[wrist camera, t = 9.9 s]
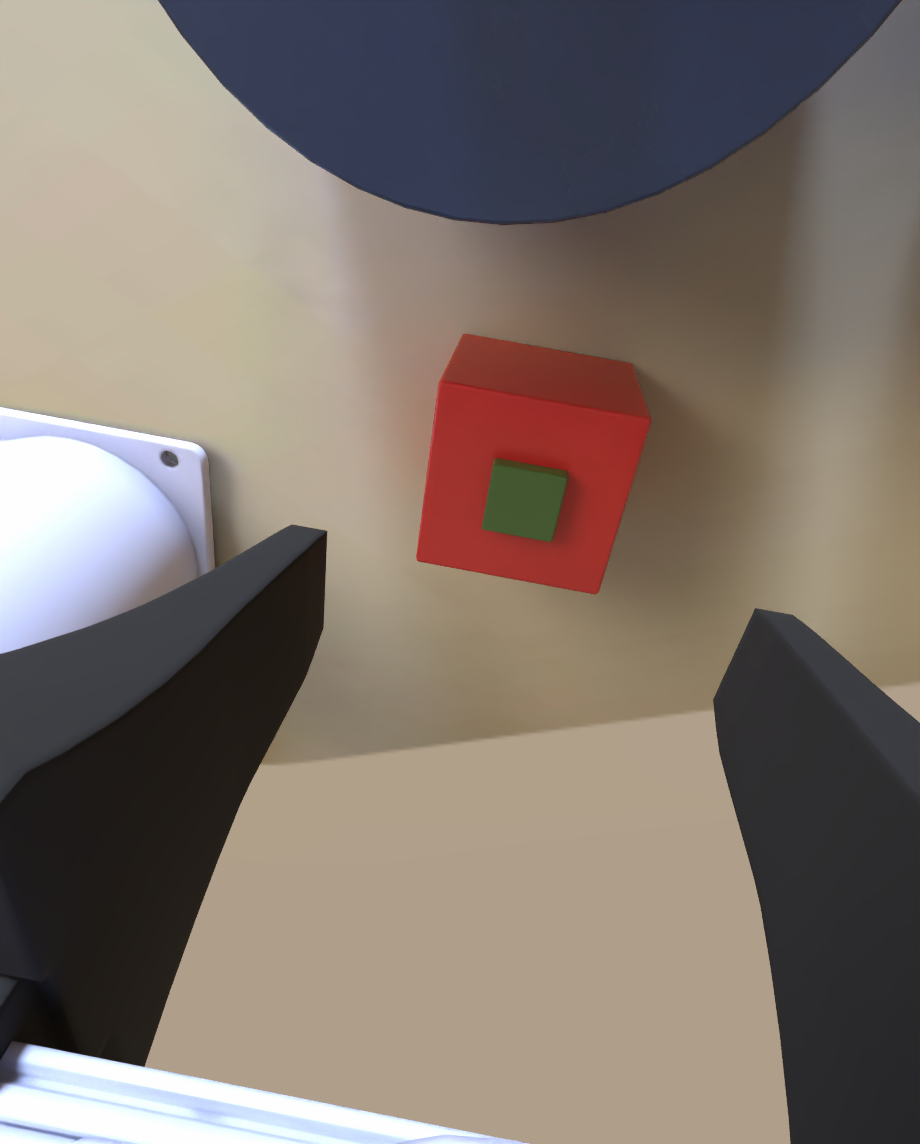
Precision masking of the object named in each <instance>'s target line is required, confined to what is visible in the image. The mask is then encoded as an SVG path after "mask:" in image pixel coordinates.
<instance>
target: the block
mask: <svg viewBox="0 0 920 1144" xmlns="http://www.w3.org/2000/svg"><path fill="white" fill-rule="evenodd" d="M650 425H651V417H650V414H649V412H648V409H647V406H646V403H645V400H644V397H643V394H642V391H641V388H640V385H639V382H638V379H637V376H636V373H635V370H634V367H633V364H631V363H627V362H621V361H616V360H610V359H605V358H599V357H593V356H588V355H582V354H577V353H571V352H565V351H560V350H554V349H549V348H543V347H537V346H532V345H526V344H521V343H515V342H509V341H504V340H498V339H492V338H487V337H481V336H476V335H470V334H463V335H462V337H461V339H460V341H459V343H458V345H457V347H456V349H455V351H454V353H453V355H452V357H451V359H450V361H449V363H448V365H447V367H446V369H445V371H444V373H443V375H442V377H441V379H440V381H439V383H438V391H437V399H436V407H435V414H434V422H433V430H432V438H431V446H430V454H429V461H428V469H427V477H426V485H425V493H424V501H423V509H422V516H421V524H420V532H419V540H418V548H417V556H416V558H417V561H419V562H424V563H430V564H435V565H440V566H446V567H451V568H456V569H462V570H467V571H472V572H478V573H483V574H489V575H494V576H499V577H505V578H510V579H515V580H521V581H526V582H531V583H537V584H542V585H547V586H553V587H558V588H564V589H569V590H574V591H580V592H585V593H590V594H597V593H598V592H599V590H600V587H601V583H602V580H603V577H604V574H605V570H606V567H607V564H608V561H609V557H610V554H611V551H612V548H613V544H614V541H615V538H616V535H617V532H618V528H619V525H620V522H621V519H622V515H623V512H624V509H625V506H626V502H627V499H628V496H629V493H630V489H631V486H632V483H633V480H634V476H635V473H636V470H637V467H638V464H639V460H640V457H641V454H642V451H643V447H644V444H645V441H646V438H647V434H648V431H649V428H650Z"/></svg>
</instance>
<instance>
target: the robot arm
mask: <svg viewBox="0 0 920 1144" xmlns="http://www.w3.org/2000/svg"><path fill="white" fill-rule="evenodd" d="M167 451H170V452H172V453H174V454H175V455H176V456H177V458H178V461H179V462H178V463H176V462H173V461H172V460H171V459H170V458H169V457H168V454H167ZM326 548H327V531H325V530H319V529H314V528H308V527H303V526H297V525H290V526H288V527H286V528H284V529H282V530H280V531H279V532H277V533H275V534H273V535H272V536H270V537H268V538H267V539H265V540H263V541H262V542H260V543H258V544H257V545H255V546H253V547H252V548H250V549H248V550H246V551H245V552H243V553H241V554H240V555H238V556H236V557H234V558H232V559H231V560H229V561H227V562H225V563H224V564H222V565H220V566H218V567H217V568H215V557H214V540H213V524H212V508H211V492H210V475H209V461H208V457H207V454H206V453H205V451H204V450H203V449H202V448H201V447H200V446H198V445H197V444H194V443H192V442H187V441H181V440H176V439H171V438H165V437H160V436H154V435H149V434H143V433H138V432H132V431H127V430H121V429H116V428H110V427H105V426H100V425H94V424H89V423H83V422H78V421H72V420H67V419H61V418H56V417H50V416H45V415H39V414H34V413H29V412H23V411H18V410H12V409H7V408H1V407H0V1144H528V1143H524V1142H519V1141H514V1140H507V1139H502V1138H496V1137H492V1136H487V1135H481V1134H476V1133H472V1132H467V1131H462V1130H456V1129H452V1128H447V1127H442V1126H437V1125H431V1124H427V1123H422V1122H417V1121H412V1120H406V1119H402V1118H396V1117H391V1116H386V1115H381V1114H376V1113H371V1112H367V1111H362V1110H357V1109H352V1108H347V1107H341V1106H337V1105H331V1104H326V1103H321V1102H316V1101H311V1100H306V1099H301V1098H296V1097H291V1096H286V1095H281V1094H276V1093H271V1092H266V1091H261V1090H256V1089H251V1088H246V1087H241V1086H236V1085H231V1084H226V1083H221V1082H216V1081H211V1080H206V1079H201V1078H196V1077H191V1076H186V1075H181V1074H176V1073H171V1072H166V1071H161V1070H156V1069H151V1068H146V1067H144V1066H145V1063H146V1060H147V1057H148V1054H149V1051H150V1048H151V1046H152V1043H153V1040H154V1036H155V1034H156V1031H157V1028H158V1025H159V1022H160V1019H161V1016H162V1013H163V1010H164V1007H165V1004H166V1001H167V998H168V995H169V992H170V989H171V986H172V984H173V981H174V978H175V975H176V972H177V970H178V967H179V964H180V961H181V958H182V956H183V953H184V950H185V947H186V945H187V942H188V939H189V936H190V933H191V930H192V928H193V925H194V922H195V919H196V917H197V914H198V911H199V909H200V906H201V903H202V901H203V898H204V896H205V893H206V890H207V888H208V885H209V882H210V880H211V877H212V874H213V872H214V869H215V867H216V864H217V861H218V858H219V856H220V853H221V851H222V848H223V846H224V844H225V841H226V838H227V836H228V834H229V831H230V828H231V826H232V823H233V821H234V818H235V816H236V813H237V811H238V808H239V806H240V803H241V802H242V800H243V797H244V795H245V793H246V791H247V789H248V787H249V785H250V782H251V780H252V778H253V777H254V775H255V773H256V771H257V769H258V767H259V765H260V763H261V762H262V760H263V758H264V756H265V754H266V752H267V750H268V748H269V746H270V744H271V743H272V741H273V739H274V737H275V735H276V733H277V731H278V729H279V727H280V725H281V724H282V722H283V720H284V718H285V716H286V714H287V712H288V710H289V708H290V706H291V704H292V703H293V701H294V699H295V697H296V695H297V693H298V691H299V689H300V687H301V685H302V683H303V681H304V679H305V677H306V675H307V672H308V669H309V667H310V664H311V661H312V659H313V656H314V653H315V650H316V648H317V645H318V642H319V639H320V636H321V633H322V630H323V624H324V599H325V573H326ZM713 702H714V712H715V722H716V731H717V738H718V745H719V752H720V756H721V760H722V764H723V768H724V772H725V776H726V779H727V783H728V787H729V790H730V794H731V798H732V801H733V805H734V808H735V812H736V815H737V819H738V822H739V826H740V830H741V833H742V837H743V840H744V844H745V847H746V851H747V854H748V858H749V862H750V865H751V869H752V872H753V876H754V880H755V884H756V889H757V893H758V897H759V902H760V906H761V911H762V918H763V924H764V930H765V936H766V942H767V948H768V954H769V960H770V966H771V973H772V981H773V987H774V995H775V1002H776V1010H777V1017H778V1024H779V1031H780V1040H781V1049H782V1058H783V1068H784V1078H785V1087H786V1096H787V1106H788V1115H789V1126H790V1127H789V1128H790V1141H791V1144H920V723H919V722H918V721H917V720H916V719H915V718H913V717H912V716H911V715H910V714H908V713H907V712H906V711H905V710H904V709H903V708H901V707H900V706H899V705H898V704H897V703H895V702H894V701H893V700H892V699H891V698H890V697H888V696H887V695H886V694H885V693H884V692H883V691H881V690H880V689H879V688H878V687H877V686H876V685H875V684H873V683H872V682H871V681H870V680H869V679H868V678H867V677H865V676H864V675H863V674H862V673H861V672H860V671H859V670H858V669H856V668H855V667H854V666H853V665H852V664H851V663H850V662H848V661H847V660H846V659H845V658H844V657H843V656H842V655H841V654H839V653H838V652H837V651H836V650H835V649H834V648H833V647H831V646H830V645H829V644H828V643H827V642H826V641H825V640H823V639H822V638H821V637H820V636H819V635H818V634H816V633H815V632H814V631H813V630H812V629H810V628H809V627H808V626H807V625H805V624H804V623H803V622H801V621H800V620H799V619H797V618H796V617H795V616H793V615H790V614H784V613H779V612H773V611H768V610H762V609H757V608H755V610H754V612H753V614H752V617H751V619H750V621H749V623H748V625H747V627H746V630H745V632H744V634H743V636H742V638H741V640H740V643H739V645H738V647H737V649H736V651H735V653H734V656H733V658H732V660H731V662H730V664H729V666H728V669H727V671H726V673H725V675H724V677H723V679H722V682H721V684H720V686H719V688H718V690H717V692H716V695H715V697H714V699H713Z"/></svg>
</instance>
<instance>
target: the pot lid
mask: <svg viewBox="0 0 920 1144" xmlns="http://www.w3.org/2000/svg"><path fill="white" fill-rule="evenodd" d="M158 1H159V2H160V4H161V5H162V7H163V8H164V10H165V11H166V13H167V14H168V16H169V17H170V19H171V20H172V22H173V23H174V25H175V26H176V28H177V29H178V31H179V32H180V34H181V35H182V37H183V38H184V39H185V40H186V41H187V43H188V44H189V45H190V46H191V47H192V49H193V50H194V51H195V52H196V53H197V55H198V56H199V57H200V58H201V60H202V61H203V62H204V63H205V64H206V66H207V67H208V68H209V69H210V70H211V72H212V73H213V74H214V75H215V77H216V78H217V79H218V80H219V81H220V83H221V84H222V85H223V86H224V87H225V88H226V89H227V90H228V91H229V92H230V93H231V94H232V95H233V96H234V97H235V98H236V99H237V100H238V101H239V102H240V103H241V104H243V105H244V106H245V107H246V108H247V109H248V110H249V111H250V112H251V113H252V114H253V115H254V116H255V117H256V118H257V119H258V120H259V121H260V122H261V123H262V124H263V125H264V126H265V127H266V128H268V129H269V130H270V131H271V132H273V133H274V134H275V135H277V136H278V137H279V138H281V139H282V140H283V141H285V142H286V143H287V144H288V145H290V146H291V147H292V148H294V149H295V150H296V151H298V152H299V153H300V154H302V155H303V156H304V157H305V158H307V159H308V160H309V161H311V162H312V163H314V164H316V165H318V166H319V167H321V168H323V169H324V170H326V171H328V172H330V173H331V174H333V175H335V176H337V177H338V178H340V179H342V180H344V181H345V182H347V183H349V184H350V185H352V186H354V187H356V188H357V189H360V190H362V191H365V192H367V193H370V194H372V195H375V196H377V197H379V198H382V199H384V200H387V201H389V202H392V203H394V204H397V205H399V206H402V207H404V208H407V209H411V210H415V211H419V212H423V213H427V214H431V215H435V216H439V217H443V218H447V219H451V220H458V221H468V222H479V223H489V224H499V225H513V224H534V223H554V222H559V221H565V220H570V219H575V218H580V217H585V216H591V215H596V214H601V213H606V212H609V211H612V210H615V209H618V208H621V207H624V206H627V205H630V204H632V203H635V202H638V201H641V200H644V199H647V198H650V197H653V196H656V195H659V194H661V193H663V192H665V191H667V190H669V189H671V188H673V187H675V186H677V185H679V184H681V183H683V182H685V181H687V180H689V179H691V178H693V177H695V176H697V175H700V174H702V173H704V172H706V171H708V170H710V169H712V168H713V167H715V166H716V165H718V164H719V163H721V162H722V161H724V160H726V159H727V158H729V157H730V156H732V155H733V154H735V153H736V152H738V151H739V150H741V149H742V148H744V147H746V146H747V145H749V144H750V143H752V142H753V141H755V140H756V139H758V138H759V137H761V136H762V135H764V134H765V133H767V132H768V131H769V130H770V129H772V128H773V127H774V126H775V125H776V124H778V123H779V122H780V121H781V120H783V119H784V118H785V117H786V116H787V115H789V114H790V113H791V112H792V111H794V110H795V109H796V108H797V107H798V106H800V105H801V104H802V103H803V102H804V101H806V100H807V99H808V98H809V97H811V96H812V95H813V94H814V93H815V92H817V91H818V90H819V89H820V88H821V87H822V86H823V85H824V84H825V83H826V82H827V81H828V80H829V79H830V78H831V77H832V76H833V75H834V74H835V73H836V72H837V71H838V70H839V69H840V68H841V67H842V66H843V65H844V64H845V63H846V62H847V61H848V60H849V59H850V58H851V57H852V56H853V55H854V54H855V53H856V52H857V51H858V50H859V49H860V48H861V47H862V46H863V45H864V44H865V43H866V42H867V41H868V40H869V39H870V38H871V37H872V36H873V35H874V33H875V32H876V31H877V30H878V29H879V27H880V26H881V25H882V24H883V22H884V21H885V20H886V19H887V18H888V16H889V15H890V14H891V13H892V11H893V10H894V9H895V8H896V7H897V5H898V4H899V3H900V2H901V0H158Z"/></svg>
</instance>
